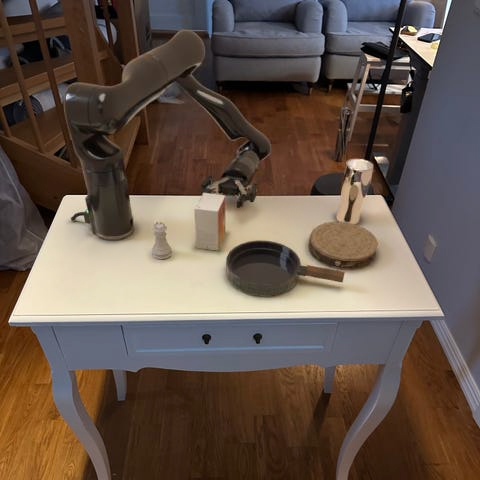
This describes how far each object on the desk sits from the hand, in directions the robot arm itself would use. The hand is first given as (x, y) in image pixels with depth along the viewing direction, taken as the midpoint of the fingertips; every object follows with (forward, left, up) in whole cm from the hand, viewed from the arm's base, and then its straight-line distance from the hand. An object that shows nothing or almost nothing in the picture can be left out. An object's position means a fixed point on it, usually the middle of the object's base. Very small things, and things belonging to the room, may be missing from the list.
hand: (221, 202), depth 111 cm
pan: (+15, -17, -6) cm, 24 cm away
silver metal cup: (+31, +13, -6) cm, 34 cm away
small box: (0, -8, -6) cm, 10 cm away
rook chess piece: (-9, -17, -6) cm, 20 cm away
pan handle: (+28, -17, -4) cm, 33 cm away
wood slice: (+31, -2, -6) cm, 32 cm away
